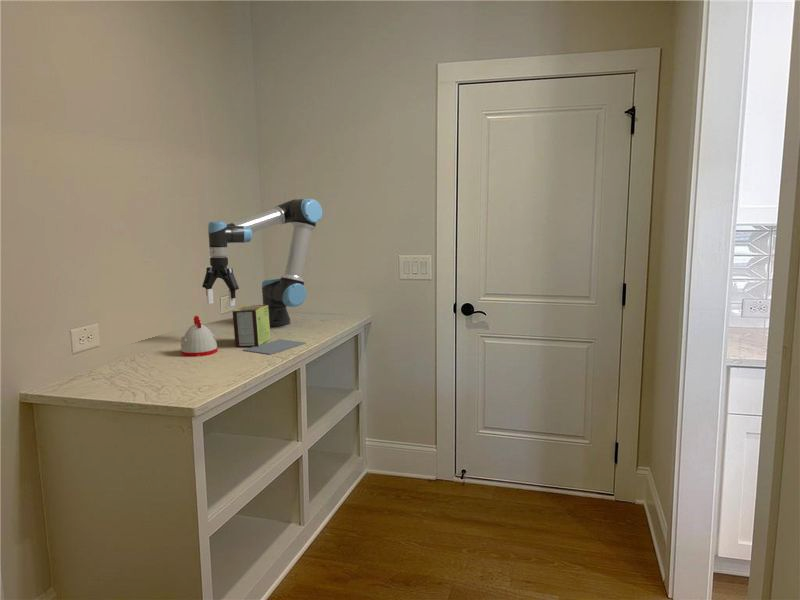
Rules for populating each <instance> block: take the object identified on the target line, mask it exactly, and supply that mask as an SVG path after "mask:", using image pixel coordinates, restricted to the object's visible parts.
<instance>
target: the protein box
mask: <svg viewBox="0 0 800 600" xmlns="http://www.w3.org/2000/svg"><path fill="white" fill-rule="evenodd" d="M231 312H232V321H233V332H234V342H235V343H234V345H235V347H236V348H237V347H254V346H259V345H261V344H264V343H267V342H268V341H269V340H271V326H270V324H269V311H268V305H263V304H253V305H252V304H248V305H247V304H246V305H243V306H241V307H238V308H236V309H234V310H232V311H231Z"/></svg>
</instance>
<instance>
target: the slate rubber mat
mask: <svg viewBox="0 0 800 600" xmlns="http://www.w3.org/2000/svg"><path fill="white" fill-rule="evenodd" d="M305 344H307V342H305V341H297V340H288V339H281V338H279V339H276V340H271V341H269V342H268V341H267V342H264V343H263V344H261V345H259V346H250V347H247V348H244V349H242V351H244V352H248V351H249V353H255V352H256V354H261V353H263V354H262V355H268V354H270V355H271V354H272V355H274V354H273V353H275V354H277V352H278V353H280V351H281V352H283V351H287V350H290V349H293V348H297V347H299V346H302V345H305ZM270 355H269V356H270ZM272 355H271V356H272Z"/></svg>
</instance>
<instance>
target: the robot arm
mask: <svg viewBox="0 0 800 600" xmlns="http://www.w3.org/2000/svg"><path fill="white" fill-rule="evenodd" d="M322 217H323V208H322V206H321V204H320V203H319V202H318V201H317V200H316V199H314V198H309V197H308V198H301V199H291V200H288V201H285V202H283V203H281V204H278V205H275V206H273V208H272V209H270V210H267V211H263V212H259V213H258V214H254V215H252V216H248V217H245V218H243V219H239V220H236V221H233V222H231V223H228V224H227V223H226V221H209V222H208V225H207V226H208V227H207V229H208V230H207V233H208V246H209V247H208V248H209V257H210V258H209V266H210V267H206V273H205V276H204V280H203V282H202V288H204V289H205V290H206V293H205V294H206V298H207V299H206V300H207V304H208V305H210V304H214V303H215V302H214V288H213V286H214V284H215V282H216V280H217V279H222V280H223V281H224V283H225V285H226V287H227V288H228V306H229V307H233V306H236V291H238V290H239V289H240V286H239V285H238V282H237V279H236V278H235V273H234V269H233V267H230V268H229V267H227V266H228V265H229V259H228V255H229V253H228V244H238V243H239V244H240V243H241V244H244V243H250V242H251V241H252V239H253V233H256V232H259V231H261V230H264V229H267V228H271V227H273V226H275V225H278V224H279V225H280V226H282V225H284V224H289V223H291V225H292V226H293V232H292V236H291V240H290V246H289V250H288V256H287V261H286V266H285V269H284V270H285V271H284V274H283V275H282V276H281V277H280V278H275V279H266V280H263V281H262V283H261V294H262V305H268V311H269V324H270V327H281V326H285V325H289V324H291V317H290V315H289V312H288V310H287V307H289V308H296V307H299V306H301V305H302V304H303V303H304V302H305V300H306V298H307V290H306V287H305V286H304V285H305V280H304V279H303V275H304V269H305V264H306V259H307V254H308V251H309V250H308V249H309V248H308V247H309V244H310V240H311V234H312V231H313V230H315V229H316V225H317V223H319V221H321V219H322Z"/></svg>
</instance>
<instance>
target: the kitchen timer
mask: <svg viewBox="0 0 800 600" xmlns="http://www.w3.org/2000/svg"><path fill="white" fill-rule="evenodd" d="M193 323H194V324H193V325H192V326H190V327H189V328H188V329H187V330H186V332H185V334H184V336H181V342H180V355H181V356H182V357H190V358H191V357H192V358H195V357H206V356H209V355H210V356H211V355H213V354H214V355H215V354H217V353H218V344H217V338H216V335H215V334H214V333H213V332H212V331H211V330H210V329H209V328H208V327H207V326H206V325H204V324H202V323H201V320H200V316H198V315H194V316H193Z"/></svg>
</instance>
